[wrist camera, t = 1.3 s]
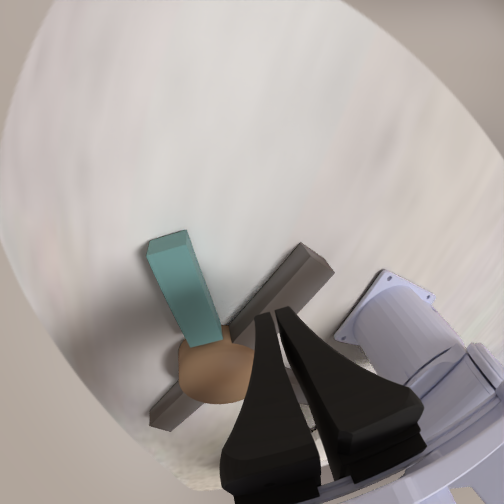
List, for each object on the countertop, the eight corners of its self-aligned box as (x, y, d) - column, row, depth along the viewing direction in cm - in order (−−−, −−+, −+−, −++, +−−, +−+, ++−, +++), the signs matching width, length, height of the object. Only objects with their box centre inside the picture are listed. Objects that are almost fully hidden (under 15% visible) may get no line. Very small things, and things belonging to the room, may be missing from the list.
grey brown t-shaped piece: (392, 308, 26) (408, 328, 24) (245, 434, 33) (250, 453, 31) (277, 225, 20) (290, 246, 17) (130, 404, 27) (129, 427, 24)
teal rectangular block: (220, 321, 23) (223, 339, 21) (189, 329, 22) (190, 347, 21) (186, 229, 18) (186, 244, 17) (149, 240, 18) (146, 256, 17)
